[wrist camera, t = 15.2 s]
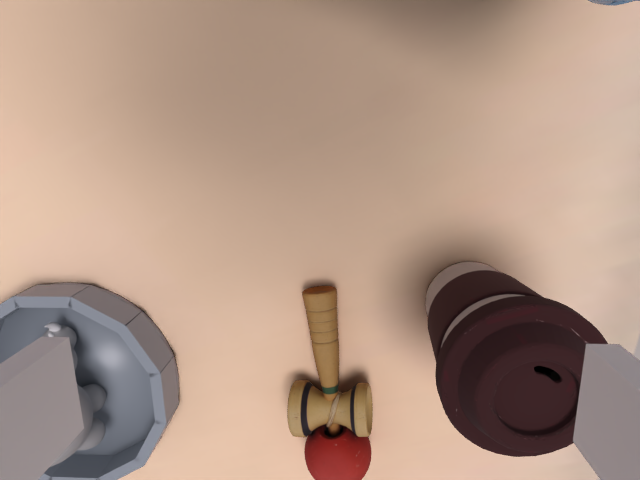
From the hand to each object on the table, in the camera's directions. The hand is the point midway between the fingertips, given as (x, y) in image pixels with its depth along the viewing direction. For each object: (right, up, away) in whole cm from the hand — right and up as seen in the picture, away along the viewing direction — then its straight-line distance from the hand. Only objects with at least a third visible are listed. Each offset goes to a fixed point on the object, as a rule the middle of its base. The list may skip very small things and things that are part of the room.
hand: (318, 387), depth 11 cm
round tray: (-23, -9, +31) cm, 40 cm away
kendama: (+1, -9, +30) cm, 31 cm away
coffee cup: (+13, -1, +27) cm, 30 cm away
